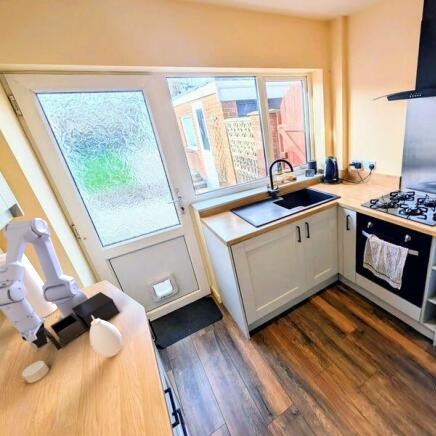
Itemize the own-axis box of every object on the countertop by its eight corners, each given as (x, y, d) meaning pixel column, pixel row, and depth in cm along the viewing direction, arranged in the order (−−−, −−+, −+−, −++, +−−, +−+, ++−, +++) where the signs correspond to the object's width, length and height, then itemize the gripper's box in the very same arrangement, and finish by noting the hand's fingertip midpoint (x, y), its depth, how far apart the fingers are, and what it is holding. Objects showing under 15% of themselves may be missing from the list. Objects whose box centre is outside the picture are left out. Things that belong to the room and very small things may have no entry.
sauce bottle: (130, 351, 86) (108, 313, 78) (104, 368, 81) (78, 329, 73) (123, 339, 91) (102, 302, 83) (98, 354, 86) (74, 317, 78)
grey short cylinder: (45, 364, 85) (40, 357, 83) (51, 370, 82) (46, 364, 81) (24, 378, 81) (19, 372, 79) (30, 385, 78) (24, 379, 77)
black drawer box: (91, 331, 96) (82, 317, 93) (80, 322, 101) (71, 308, 98) (119, 312, 104) (112, 298, 101) (107, 304, 109) (100, 291, 106)
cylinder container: (26, 323, 104) (-18, 265, 91) (35, 309, 112) (-5, 254, 99) (54, 313, 108) (15, 256, 95) (61, 300, 115) (25, 246, 103)
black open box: (43, 360, 85) (34, 349, 83) (34, 349, 90) (25, 338, 87) (88, 330, 95) (81, 319, 93) (78, 322, 100) (71, 311, 98)
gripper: (39, 319, 80) (59, 347, 86) (38, 299, 90) (56, 326, 95) (8, 333, 76) (32, 362, 81) (11, 311, 85) (32, 338, 91)
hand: (43, 344), depth 88 cm, fingers closed, pressing on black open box
